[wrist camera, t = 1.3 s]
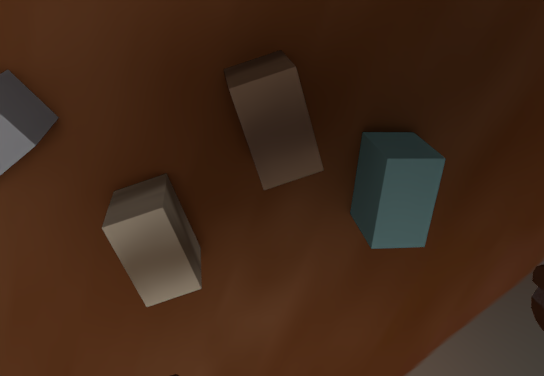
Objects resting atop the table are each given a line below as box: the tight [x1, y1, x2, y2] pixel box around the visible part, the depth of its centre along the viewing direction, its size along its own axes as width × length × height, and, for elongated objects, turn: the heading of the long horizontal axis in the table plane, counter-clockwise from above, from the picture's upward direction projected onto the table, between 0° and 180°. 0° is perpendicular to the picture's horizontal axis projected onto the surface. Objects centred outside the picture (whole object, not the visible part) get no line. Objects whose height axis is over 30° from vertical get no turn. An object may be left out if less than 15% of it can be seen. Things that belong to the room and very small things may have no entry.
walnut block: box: [224, 50, 324, 190], centre depth 27 cm, size 6×4×4 cm, turn 17°
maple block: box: [102, 174, 202, 307], centre depth 29 cm, size 6×4×4 cm, turn 17°
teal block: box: [350, 132, 446, 249], centre depth 30 cm, size 6×4×4 cm, turn 177°
